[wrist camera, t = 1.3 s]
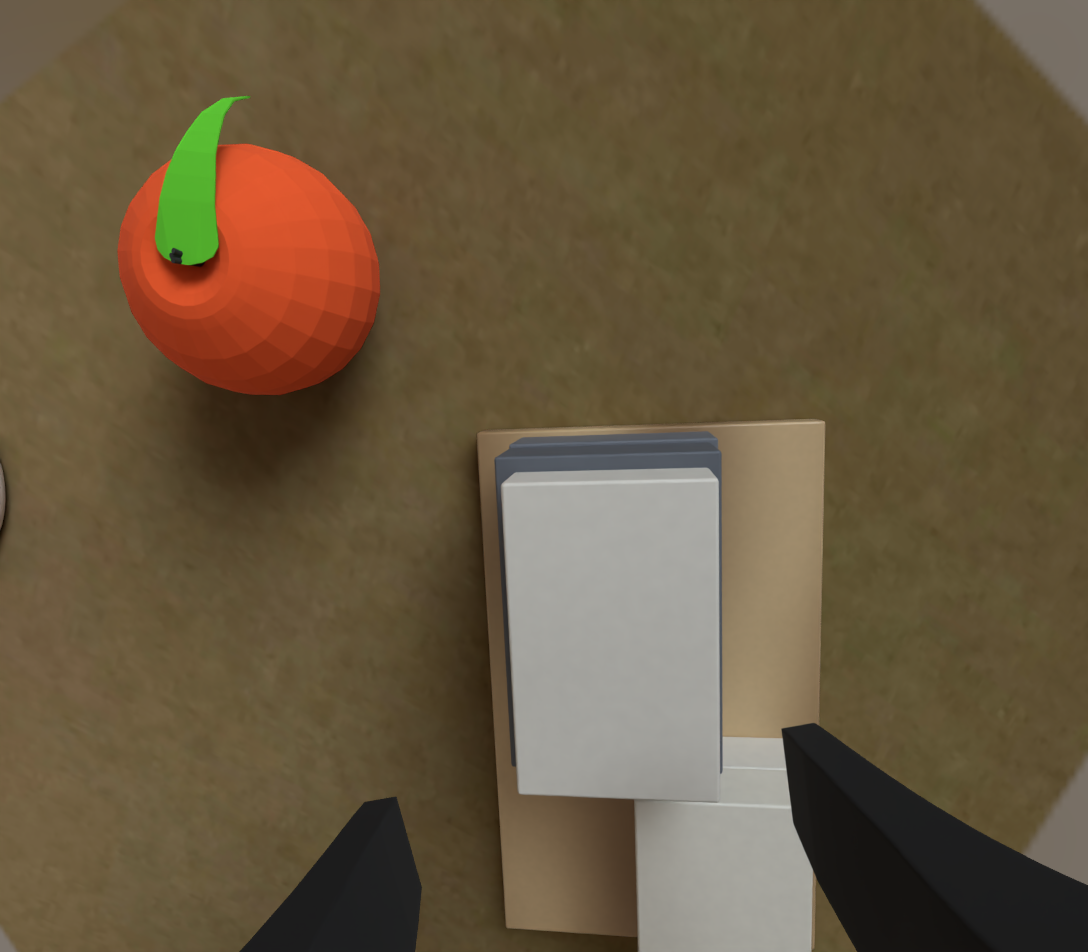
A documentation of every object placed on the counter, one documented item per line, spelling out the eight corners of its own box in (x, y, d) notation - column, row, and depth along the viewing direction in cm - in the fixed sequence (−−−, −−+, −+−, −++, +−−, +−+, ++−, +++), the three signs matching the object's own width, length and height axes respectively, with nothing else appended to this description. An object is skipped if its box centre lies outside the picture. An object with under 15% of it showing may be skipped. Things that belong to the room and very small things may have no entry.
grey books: (709, 430, 21) (730, 446, 16) (710, 699, 22) (730, 779, 18) (520, 437, 21) (493, 453, 17) (533, 695, 23) (510, 771, 18)
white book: (709, 466, 16) (718, 478, 15) (711, 761, 18) (720, 804, 16) (513, 471, 17) (499, 483, 15) (527, 755, 18) (517, 796, 16)
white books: (788, 737, 22) (818, 808, 18) (785, 949, 23) (813, 1053, 19) (633, 732, 22) (633, 799, 19) (638, 938, 24) (640, 1038, 20)
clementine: (227, 140, 22) (41, 33, 15) (425, 161, 21) (326, 58, 14) (216, 378, 23) (41, 380, 16) (402, 405, 23) (300, 419, 16)
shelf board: (817, 418, 21) (826, 420, 20) (807, 927, 24) (815, 950, 23) (482, 429, 22) (475, 432, 22) (510, 907, 25) (505, 929, 24)
